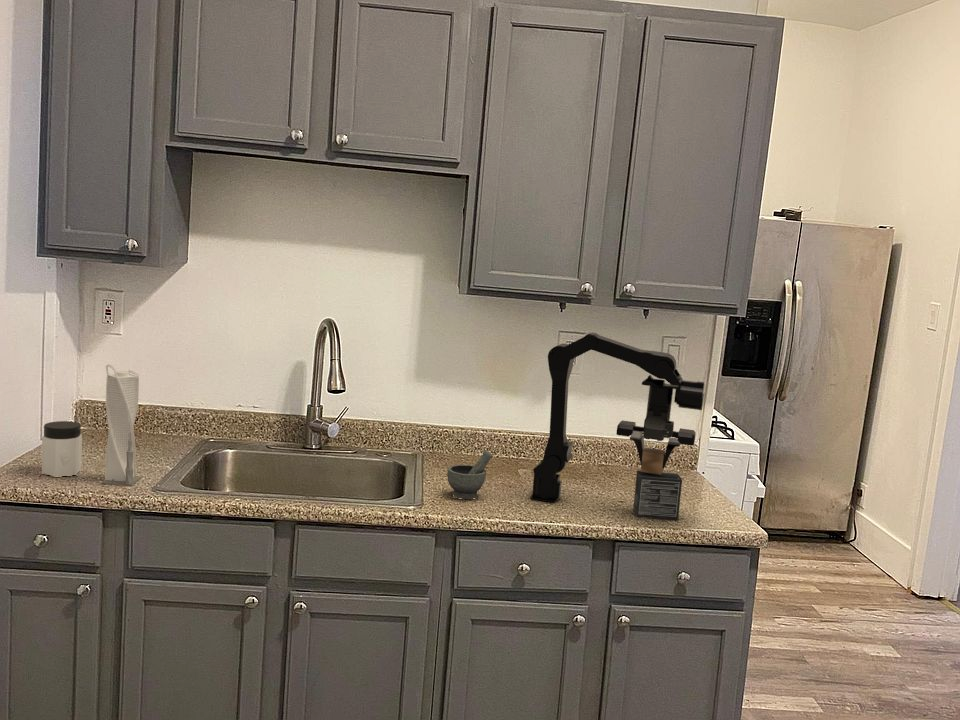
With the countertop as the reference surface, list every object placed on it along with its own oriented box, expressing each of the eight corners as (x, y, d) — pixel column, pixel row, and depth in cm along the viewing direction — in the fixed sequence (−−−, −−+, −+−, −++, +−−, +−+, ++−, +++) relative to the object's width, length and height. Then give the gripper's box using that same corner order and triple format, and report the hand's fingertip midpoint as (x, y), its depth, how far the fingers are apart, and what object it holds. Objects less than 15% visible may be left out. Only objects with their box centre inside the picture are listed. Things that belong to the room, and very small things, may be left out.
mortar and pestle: (448, 501, 230) (452, 454, 228) (442, 490, 239) (446, 444, 237) (493, 502, 232) (497, 455, 230) (486, 491, 241) (489, 446, 239)
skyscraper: (95, 483, 221) (98, 366, 217) (108, 474, 229) (111, 361, 225) (131, 486, 221) (134, 369, 217) (143, 477, 229) (146, 364, 225)
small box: (674, 512, 236) (678, 472, 234) (678, 521, 229) (683, 479, 228) (632, 509, 236) (636, 469, 234) (635, 517, 230) (640, 476, 228)
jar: (45, 479, 221) (46, 429, 220) (38, 470, 228) (38, 422, 226) (85, 475, 227) (86, 427, 225) (77, 467, 233) (78, 420, 231)
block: (640, 471, 229) (642, 451, 228) (642, 467, 234) (645, 447, 233) (661, 474, 228) (663, 454, 227) (663, 470, 233) (665, 450, 232)
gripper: (616, 405, 223) (610, 468, 225) (696, 415, 218) (688, 480, 221) (622, 397, 234) (616, 458, 236) (698, 407, 229) (691, 469, 231)
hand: (652, 466), depth 231 cm, fingers closed on block, 5 cm apart
